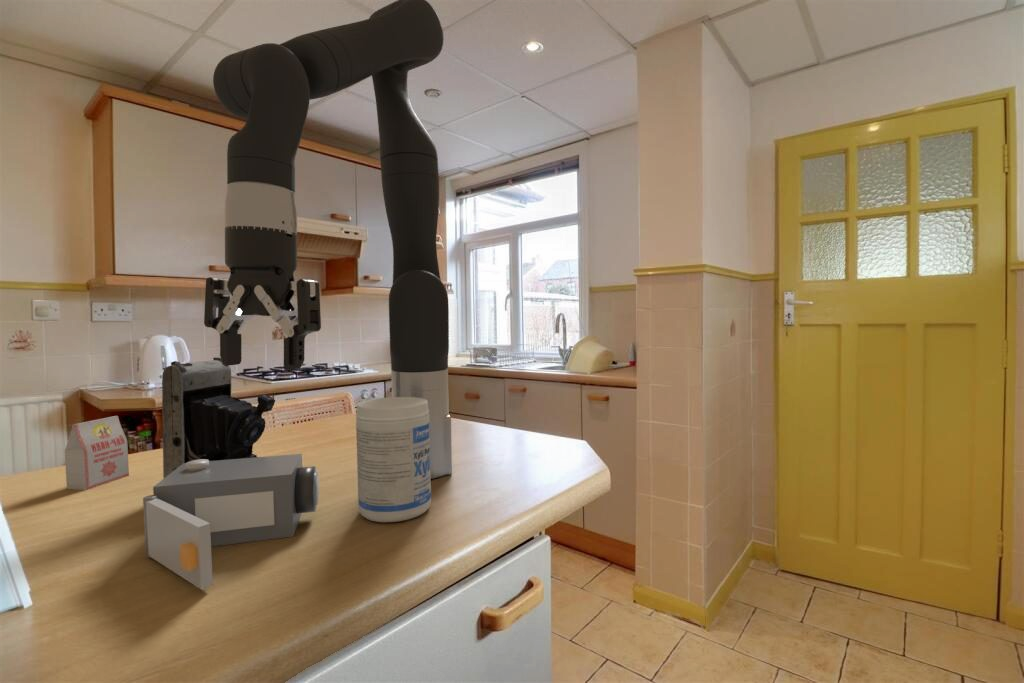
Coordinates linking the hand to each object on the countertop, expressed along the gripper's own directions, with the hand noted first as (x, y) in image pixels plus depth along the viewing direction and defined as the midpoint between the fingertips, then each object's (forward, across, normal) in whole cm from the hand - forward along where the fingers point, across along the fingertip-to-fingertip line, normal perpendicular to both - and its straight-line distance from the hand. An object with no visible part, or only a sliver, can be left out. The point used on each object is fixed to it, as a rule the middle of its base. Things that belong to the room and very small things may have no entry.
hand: (261, 366), depth 58 cm
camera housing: (+20, -3, +1) cm, 20 cm away
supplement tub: (+20, +13, +10) cm, 25 cm away
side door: (+20, -2, -10) cm, 23 cm away
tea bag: (+22, -39, +10) cm, 46 cm away
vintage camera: (+21, -15, +11) cm, 28 cm away
